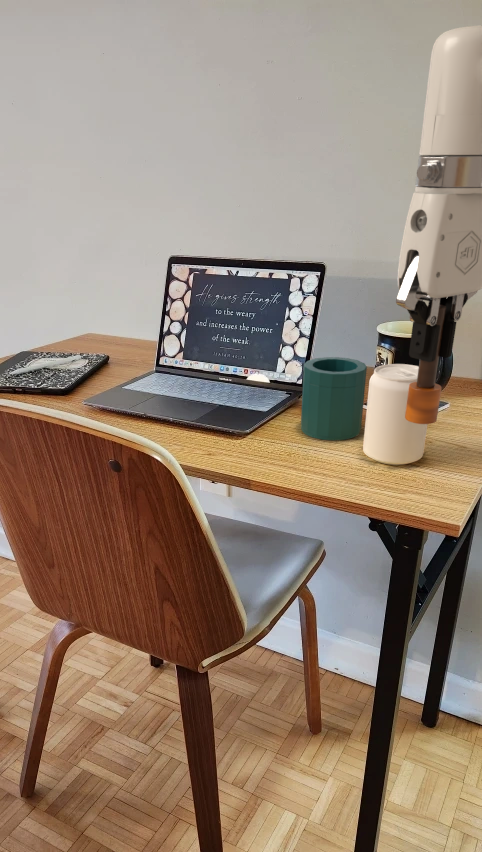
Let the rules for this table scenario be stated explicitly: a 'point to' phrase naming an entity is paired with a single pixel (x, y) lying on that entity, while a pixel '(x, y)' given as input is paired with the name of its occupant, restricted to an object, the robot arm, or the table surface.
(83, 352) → the table surface
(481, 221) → the robot arm
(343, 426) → the jar
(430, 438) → the table surface
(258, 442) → the table surface
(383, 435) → the beverage can
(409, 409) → the brown and orange pestle
